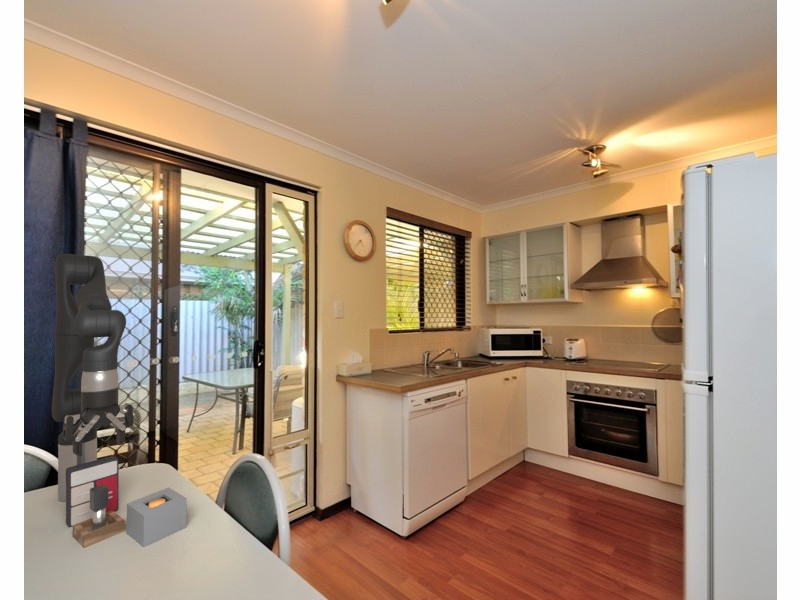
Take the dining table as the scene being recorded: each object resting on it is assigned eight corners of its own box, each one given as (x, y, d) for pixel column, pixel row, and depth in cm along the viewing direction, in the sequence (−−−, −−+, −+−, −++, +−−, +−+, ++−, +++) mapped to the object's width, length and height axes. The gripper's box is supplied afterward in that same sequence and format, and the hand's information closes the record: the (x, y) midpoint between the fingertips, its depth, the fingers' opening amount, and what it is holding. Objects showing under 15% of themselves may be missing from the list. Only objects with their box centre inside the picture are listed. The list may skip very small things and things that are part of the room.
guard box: (126, 534, 96) (126, 503, 96) (168, 516, 104) (168, 487, 104) (143, 549, 90) (143, 515, 90) (186, 528, 98) (186, 497, 98)
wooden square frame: (72, 537, 95) (72, 525, 95) (112, 521, 102) (112, 510, 102) (84, 549, 90) (84, 537, 90) (124, 531, 97) (124, 520, 97)
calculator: (68, 529, 98) (69, 472, 98) (65, 523, 101) (65, 468, 101) (119, 511, 107) (119, 458, 107) (114, 505, 109) (115, 454, 109)
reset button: (146, 522, 97) (146, 502, 97) (161, 515, 100) (161, 496, 100) (152, 526, 95) (152, 507, 95) (167, 519, 98) (167, 500, 98)
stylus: (89, 535, 95) (89, 488, 96) (103, 529, 98) (104, 483, 98) (93, 539, 94) (94, 492, 94) (108, 533, 96) (108, 487, 96)
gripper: (126, 380, 104) (125, 438, 104) (59, 390, 92) (58, 455, 92) (138, 383, 100) (137, 444, 100) (69, 394, 88) (68, 463, 88)
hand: (99, 449), depth 96 cm, fingers open, 8 cm apart
